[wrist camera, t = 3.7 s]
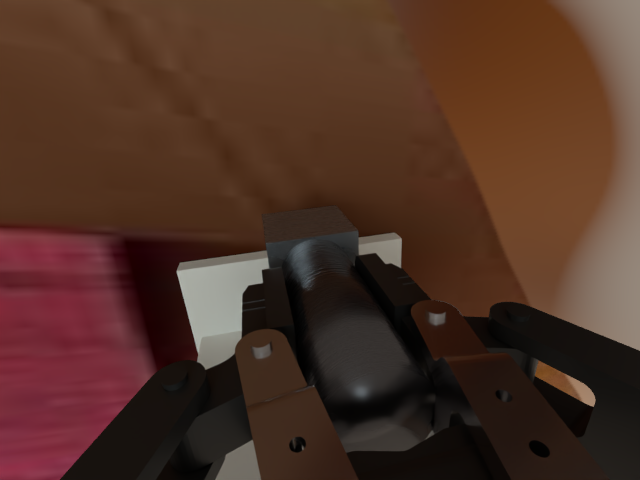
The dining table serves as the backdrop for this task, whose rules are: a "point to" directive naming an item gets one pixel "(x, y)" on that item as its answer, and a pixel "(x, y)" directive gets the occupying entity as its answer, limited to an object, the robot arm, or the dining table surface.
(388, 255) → the bracket
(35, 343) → the dining table surface
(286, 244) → the shaft
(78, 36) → the dining table surface
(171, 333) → the dining table surface
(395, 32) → the dining table surface
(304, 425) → the robot arm
